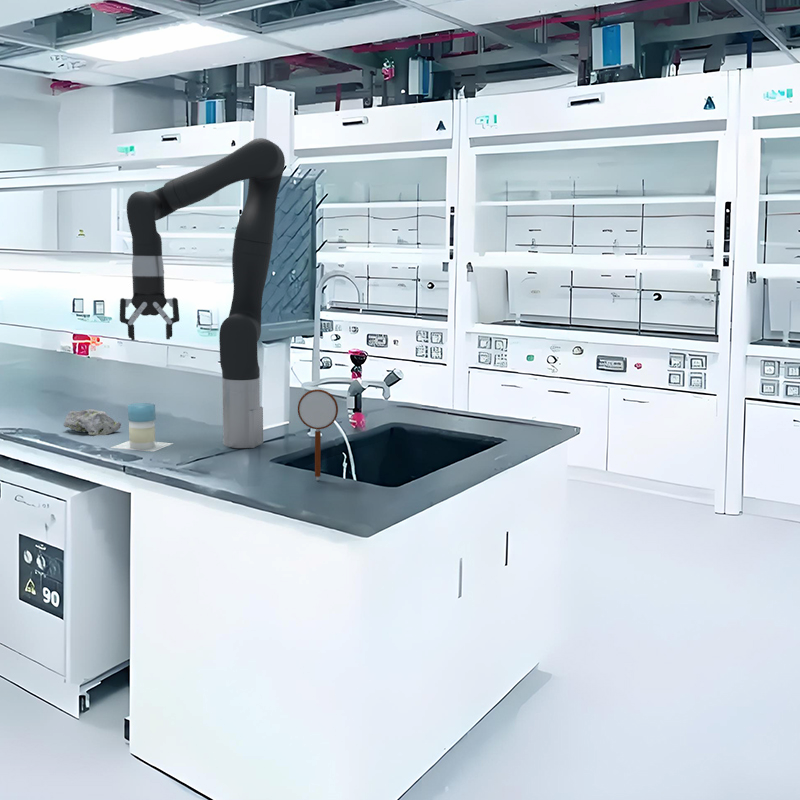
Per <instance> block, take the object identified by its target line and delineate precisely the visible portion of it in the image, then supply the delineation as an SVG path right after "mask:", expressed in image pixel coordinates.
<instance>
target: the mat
mask: <svg viewBox="0 0 800 800" xmlns="http://www.w3.org/2000/svg"><path fill="white" fill-rule="evenodd" d="M171 445H174V443H173V442H161V441H155V448H152V449H147V450H139V451H142V452H144V451H145V452H152V453H154V452H156V451H159V450H162V449H163V448H166V447H169V446H171ZM110 449H119V450H128V451H129V450H131V451H135V450H134V449H131V448H130V441H129V440H127V441H124V442H122V443H120V444H117V445H113V446H111V447H110Z"/></svg>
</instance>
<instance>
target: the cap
mask: <svg viewBox="0 0 800 800" xmlns="http://www.w3.org/2000/svg"><path fill="white" fill-rule="evenodd" d="M127 418H128V419H127V420H128V422H129V421H133V422H147V421H153V420H154V421H155V420H156V404H155V403H151V402H135V403H134V402H133V403H130V404H128V405H127Z"/></svg>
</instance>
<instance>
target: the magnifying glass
mask: <svg viewBox="0 0 800 800" xmlns="http://www.w3.org/2000/svg"><path fill="white" fill-rule="evenodd" d="M338 413H339V406H338V402H337V399H336V398H335V397H334V396H333V395H332V394H331V393H330V392H329V391H326V390H323V389H312V390H309V391H306V392H305V393H304V394H303V395H302V396H301V398H299V400H298V405H297V415H298V417H299V419H300V422H302V424H304V426H306V427H308V428H310V429H312V430H313V429H314V430H315V431H314V476H315V480H316V481H317V482H318V481H319V480H320V477H321V456H322V455H321V454H322V453H321V443H322V442H321V439H322V438H321V434H322V433H321V430H323V429H327V428H329V427H330V426H332V425H333V424H334V423H335V421H336V419H337V417H338Z"/></svg>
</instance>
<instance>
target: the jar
mask: <svg viewBox="0 0 800 800" xmlns="http://www.w3.org/2000/svg"><path fill="white" fill-rule="evenodd" d="M128 437H129V440H128V441H130V448H131V449H134V450H133V451H140V450H147V449H152V448H155V442H156V425H155V420H153V421H147V422H133V421H129V420H128Z"/></svg>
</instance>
